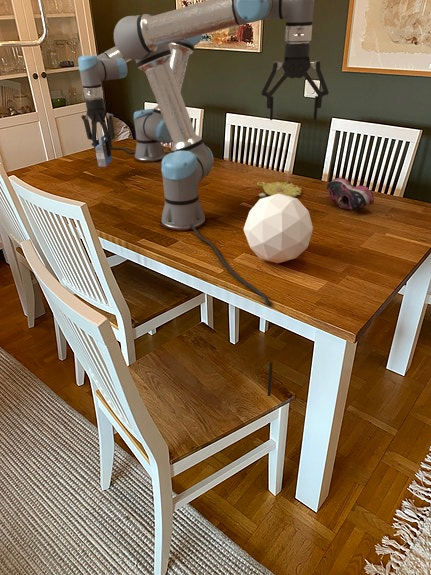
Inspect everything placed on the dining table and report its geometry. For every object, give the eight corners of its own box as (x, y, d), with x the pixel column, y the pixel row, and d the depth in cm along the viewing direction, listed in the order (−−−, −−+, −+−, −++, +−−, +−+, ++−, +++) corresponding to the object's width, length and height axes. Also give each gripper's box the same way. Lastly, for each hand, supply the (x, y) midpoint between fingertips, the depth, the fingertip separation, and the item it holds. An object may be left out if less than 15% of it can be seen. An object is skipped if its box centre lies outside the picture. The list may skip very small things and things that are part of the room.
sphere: (285, 285, 132) (293, 258, 113) (230, 249, 136) (230, 218, 118) (319, 238, 137) (332, 204, 118) (265, 205, 141) (270, 168, 122)
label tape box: (104, 160, 199) (99, 132, 192) (113, 160, 198) (108, 132, 192) (98, 166, 192) (92, 137, 185) (107, 166, 191) (101, 137, 185)
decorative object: (287, 199, 166) (244, 186, 176) (286, 205, 167) (244, 192, 178) (314, 184, 179) (272, 172, 189) (313, 190, 181) (272, 178, 191)
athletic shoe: (336, 177, 172) (311, 184, 169) (376, 171, 153) (348, 180, 149) (341, 205, 175) (316, 213, 171) (381, 204, 156) (354, 213, 152)
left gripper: (71, 100, 178) (82, 158, 191) (111, 99, 176) (120, 158, 189) (78, 96, 185) (88, 153, 197) (117, 96, 183) (125, 153, 195)
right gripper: (254, 44, 127) (252, 121, 138) (343, 42, 124) (334, 121, 135) (255, 42, 133) (253, 116, 144) (340, 40, 130) (331, 116, 142)
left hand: (104, 155), depth 193 cm, fingers closed on label tape box, 4 cm apart
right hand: (292, 119), depth 140 cm, fingers open, 13 cm apart
